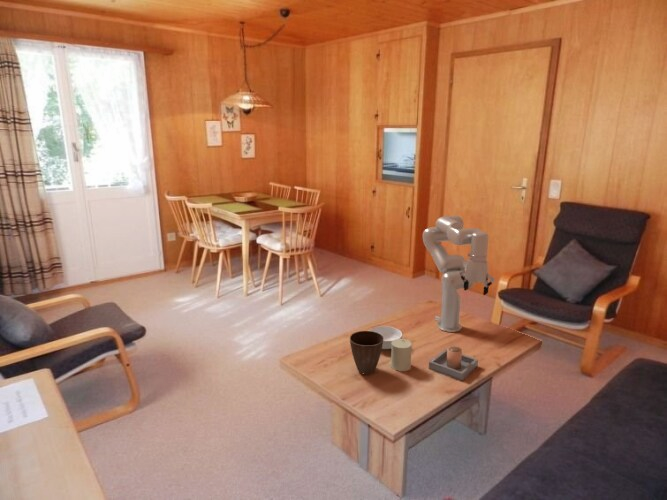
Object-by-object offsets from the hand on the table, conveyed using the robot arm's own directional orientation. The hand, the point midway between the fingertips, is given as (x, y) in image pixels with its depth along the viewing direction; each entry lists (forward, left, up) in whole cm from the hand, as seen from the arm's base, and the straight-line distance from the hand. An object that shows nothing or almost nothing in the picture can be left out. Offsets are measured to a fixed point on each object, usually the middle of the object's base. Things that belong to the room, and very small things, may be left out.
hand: (475, 291), depth 218 cm
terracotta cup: (+3, -26, -27) cm, 38 cm away
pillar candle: (-16, -40, -28) cm, 52 cm away
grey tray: (+3, -26, -28) cm, 39 cm away
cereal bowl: (-33, -28, -29) cm, 52 cm away
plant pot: (-26, -53, -28) cm, 66 cm away
